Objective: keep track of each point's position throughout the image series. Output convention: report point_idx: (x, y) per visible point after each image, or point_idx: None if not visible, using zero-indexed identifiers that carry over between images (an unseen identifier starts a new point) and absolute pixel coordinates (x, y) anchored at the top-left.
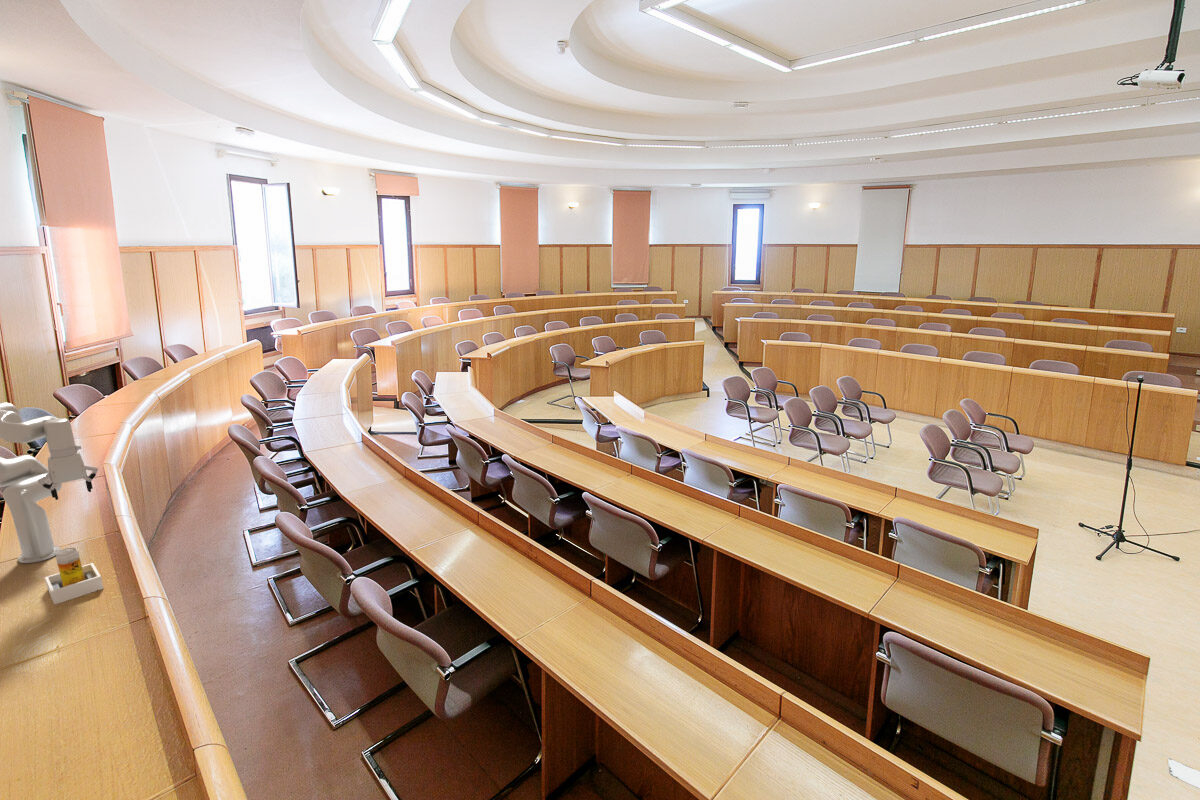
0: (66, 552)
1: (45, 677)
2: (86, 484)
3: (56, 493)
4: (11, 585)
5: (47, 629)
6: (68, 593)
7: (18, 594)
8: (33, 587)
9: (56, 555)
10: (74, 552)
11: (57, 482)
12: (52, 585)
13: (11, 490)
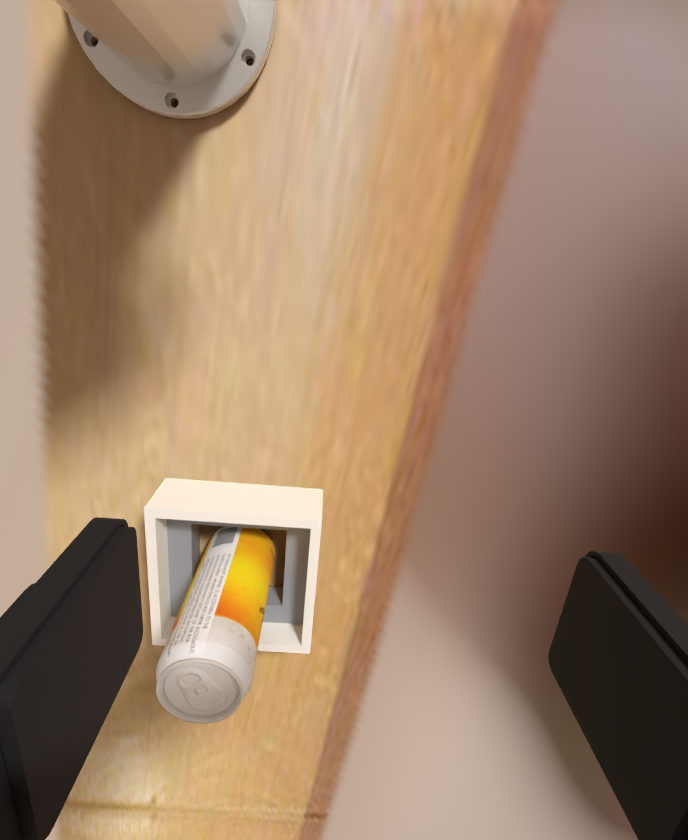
0: (198, 699)
1: None
2: (644, 706)
3: (78, 752)
4: (46, 315)
5: (140, 719)
6: None
7: (72, 432)
8: (122, 413)
9: (156, 679)
10: (230, 711)
11: None
12: (172, 528)
13: None
